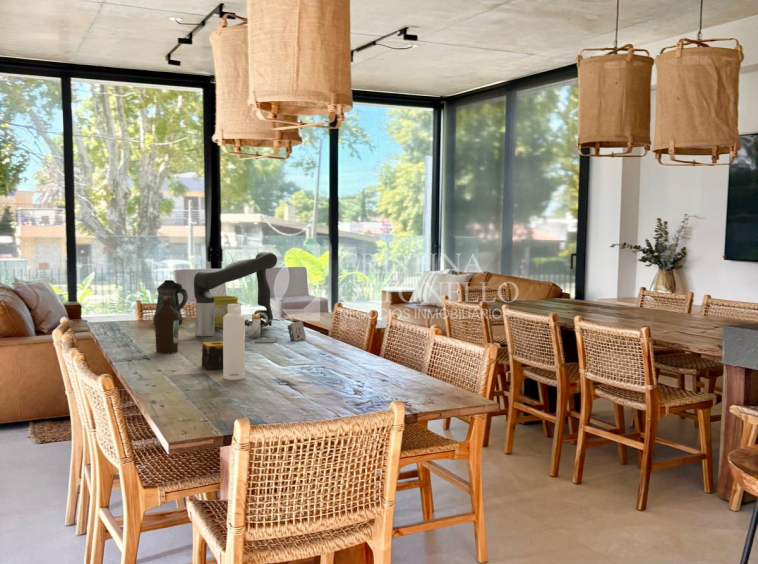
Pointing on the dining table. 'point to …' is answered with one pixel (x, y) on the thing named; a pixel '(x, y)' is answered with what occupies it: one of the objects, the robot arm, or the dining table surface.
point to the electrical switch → (296, 331)
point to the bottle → (233, 343)
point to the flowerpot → (222, 308)
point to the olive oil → (166, 328)
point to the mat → (265, 341)
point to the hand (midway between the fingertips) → (256, 324)
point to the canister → (255, 325)
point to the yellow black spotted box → (212, 355)
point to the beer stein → (171, 296)
